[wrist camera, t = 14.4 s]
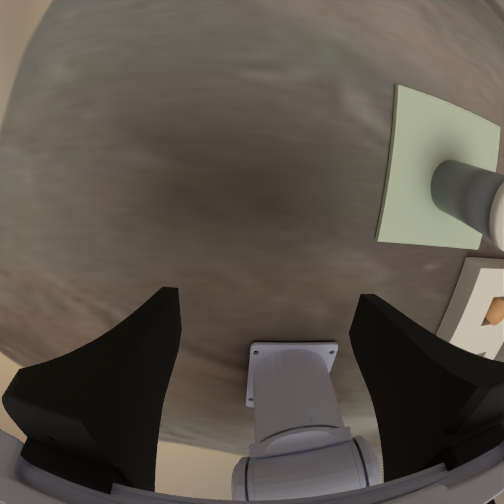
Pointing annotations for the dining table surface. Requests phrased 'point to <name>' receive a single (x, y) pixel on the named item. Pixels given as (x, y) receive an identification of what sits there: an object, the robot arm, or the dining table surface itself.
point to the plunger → (495, 311)
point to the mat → (430, 168)
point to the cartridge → (471, 197)
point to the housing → (475, 308)
